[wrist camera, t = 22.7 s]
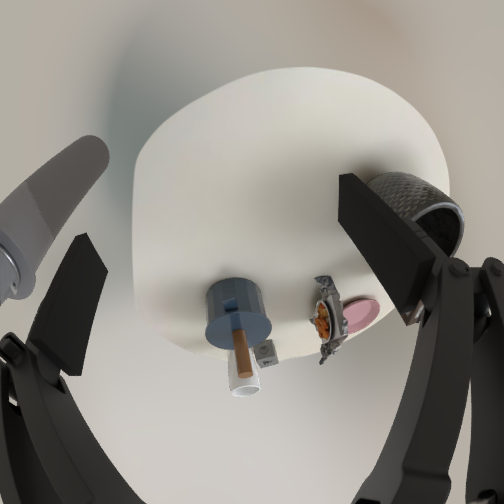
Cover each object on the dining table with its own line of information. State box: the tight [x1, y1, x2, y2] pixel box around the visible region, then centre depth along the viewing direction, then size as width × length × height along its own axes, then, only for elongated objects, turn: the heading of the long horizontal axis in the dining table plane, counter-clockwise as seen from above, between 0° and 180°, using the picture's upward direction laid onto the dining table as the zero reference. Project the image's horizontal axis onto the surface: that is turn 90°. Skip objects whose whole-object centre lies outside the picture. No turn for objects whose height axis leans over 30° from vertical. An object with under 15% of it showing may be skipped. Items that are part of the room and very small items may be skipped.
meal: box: [310, 276, 349, 365], centre depth 55 cm, size 15×4×13 cm, turn 2°
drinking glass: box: [228, 348, 261, 397], centre depth 59 cm, size 7×7×15 cm
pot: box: [205, 278, 267, 348], centre depth 52 cm, size 11×17×8 cm
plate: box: [343, 299, 380, 334], centre depth 66 cm, size 14×14×2 cm
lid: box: [205, 310, 272, 379], centre depth 46 cm, size 12×12×10 cm
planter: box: [366, 172, 464, 285], centre depth 39 cm, size 17×17×16 cm
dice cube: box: [253, 340, 278, 368], centre depth 68 cm, size 5×5×5 cm
